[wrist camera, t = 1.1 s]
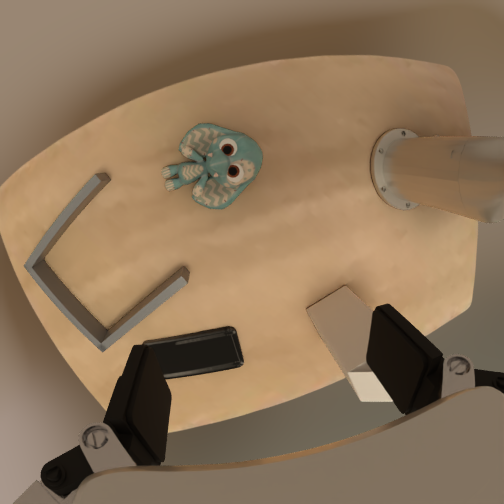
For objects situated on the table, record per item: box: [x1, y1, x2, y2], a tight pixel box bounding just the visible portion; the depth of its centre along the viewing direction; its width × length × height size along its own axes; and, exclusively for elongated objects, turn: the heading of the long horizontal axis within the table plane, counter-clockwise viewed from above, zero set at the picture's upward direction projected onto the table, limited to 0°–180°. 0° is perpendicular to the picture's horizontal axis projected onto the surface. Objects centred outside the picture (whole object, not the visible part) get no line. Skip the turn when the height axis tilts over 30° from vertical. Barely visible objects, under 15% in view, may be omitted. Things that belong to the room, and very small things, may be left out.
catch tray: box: [24, 173, 190, 352], centre depth 32 cm, size 18×17×4 cm
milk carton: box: [306, 285, 393, 402], centre depth 32 cm, size 7×7×19 cm
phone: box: [142, 326, 244, 379], centre depth 39 cm, size 8×1×15 cm
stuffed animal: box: [161, 123, 263, 209], centre depth 29 cm, size 11×7×12 cm
